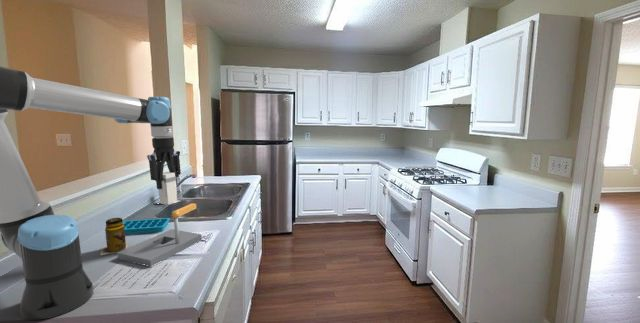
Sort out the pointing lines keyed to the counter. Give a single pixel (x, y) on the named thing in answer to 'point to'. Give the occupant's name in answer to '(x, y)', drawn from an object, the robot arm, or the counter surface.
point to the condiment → (114, 236)
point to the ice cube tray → (145, 226)
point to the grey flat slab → (159, 247)
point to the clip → (178, 213)
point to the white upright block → (169, 188)
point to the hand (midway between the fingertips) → (168, 194)
